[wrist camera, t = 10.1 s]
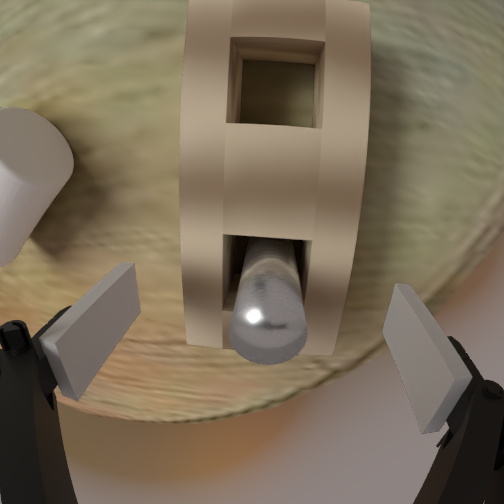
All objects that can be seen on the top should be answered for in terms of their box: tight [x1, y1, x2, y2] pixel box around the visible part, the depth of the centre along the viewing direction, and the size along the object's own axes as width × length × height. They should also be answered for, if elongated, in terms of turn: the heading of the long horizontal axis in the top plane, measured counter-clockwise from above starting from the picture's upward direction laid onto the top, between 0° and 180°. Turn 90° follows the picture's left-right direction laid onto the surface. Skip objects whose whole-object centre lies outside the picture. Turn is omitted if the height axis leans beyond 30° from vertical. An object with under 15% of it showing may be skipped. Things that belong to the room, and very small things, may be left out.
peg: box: [229, 236, 308, 365], centre depth 16 cm, size 3×3×10 cm
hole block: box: [179, 0, 371, 356], centre depth 17 cm, size 20×9×5 cm, turn 177°
